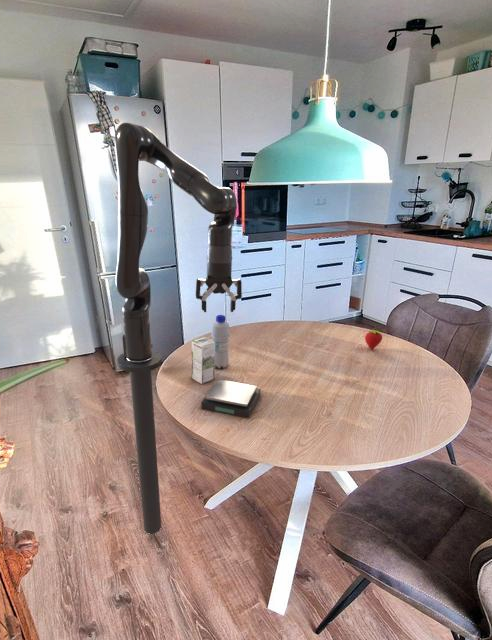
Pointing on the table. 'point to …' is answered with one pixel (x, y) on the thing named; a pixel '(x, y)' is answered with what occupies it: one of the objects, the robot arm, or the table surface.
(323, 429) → the table surface
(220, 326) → the bottle
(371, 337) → the strawberry
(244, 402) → the pan
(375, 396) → the table surface
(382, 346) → the table surface
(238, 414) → the scale
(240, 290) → the robot arm
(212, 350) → the syrup box
